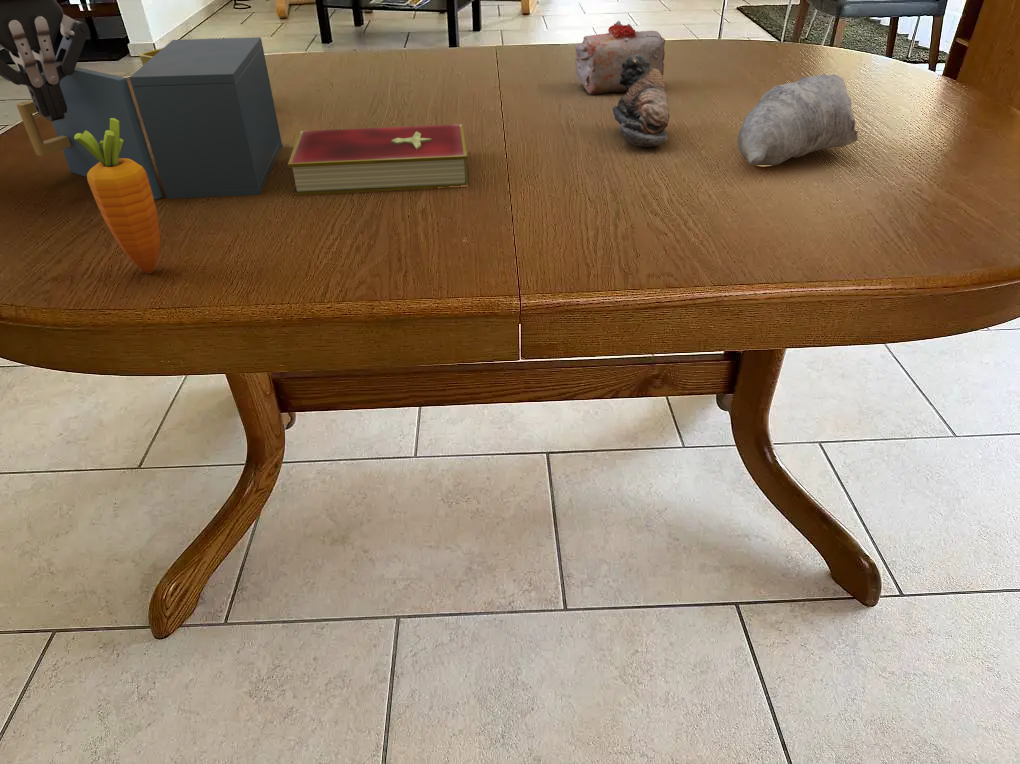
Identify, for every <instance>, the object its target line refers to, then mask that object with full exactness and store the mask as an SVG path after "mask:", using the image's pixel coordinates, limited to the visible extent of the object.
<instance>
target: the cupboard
mask: <svg viewBox="0 0 1020 764" xmlns="http://www.w3.org/2000/svg"><path fill="white" fill-rule="evenodd" d="M262 41H263V40H262V37H259V36H257V37H226V38H225V37H221V38H193V39H192V38H190V39H189V38H188V39H172V40H171V41H170V42H169V43H166V45H165V46H164V47H162V48H163V49H162V50H160V51H159V52H158V53H157V54H156V55H155V56H154V57H152V58H151V59H150V60H149V61H148V62H147V63H145V64H144V65H143V64H142V66H141V67H140V68H139V69H137V70H136V71H134V73H132V74H131V75H130V76H129V80H130V84H131V87H132V90H133V94H134V97H135V101H136V104H137V107H138V110H139V113H140V117H141V120H142V124H143V127H144V130H145V133H146V137H147V139H148V143H149V146H150V149H151V153H152V156H153V159H154V162H155V166H156V169H157V172H158V175H159V178H160V179H159V180H160V182H161V185H162V188H163V191H164V193H165V197H166V199H167V200H169V199H192V198H193V199H194V198H218V197H241V196H260V195H261V194H262V192H263V189H264V187H265V185H266V183H267V181H268V178H269V177H270V174H271V172H272V169H273V167H274V165H275V163H276V161H277V159H278V156H279V154H280V152H281V150H282V147H283V143H282V142H283V141H282V135H281V132H280V126H279V122H278V117H277V111H276V106H275V101H274V97H273V96H274V95H273V92H272V86H271V81H270V76H269V72H268V71H269V70H268V66H267V61H266V55H265V50H264V46H263V42H262Z"/></svg>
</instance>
